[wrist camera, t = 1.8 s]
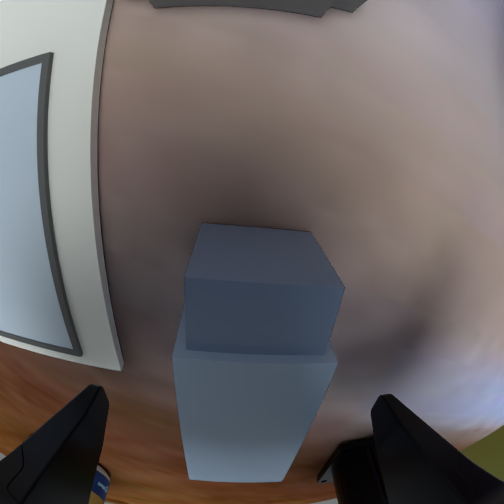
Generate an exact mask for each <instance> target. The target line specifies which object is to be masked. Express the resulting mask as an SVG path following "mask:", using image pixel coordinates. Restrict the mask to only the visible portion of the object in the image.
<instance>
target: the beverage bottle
mask: <svg viewBox="0 0 504 504" xmlns="http://www.w3.org/2000/svg"><path fill="white" fill-rule="evenodd" d="M109 484H110V478H109V476H108V474H107V473H106V472H105V470H104V469H103V468H101V467H100V466H99V465H98V466H97V470H96V474H95V478H94V482H93V486H92V490H91V495H90V499H89V504H104V502H105V498H106V494H107V492H108V489H109Z"/></svg>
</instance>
